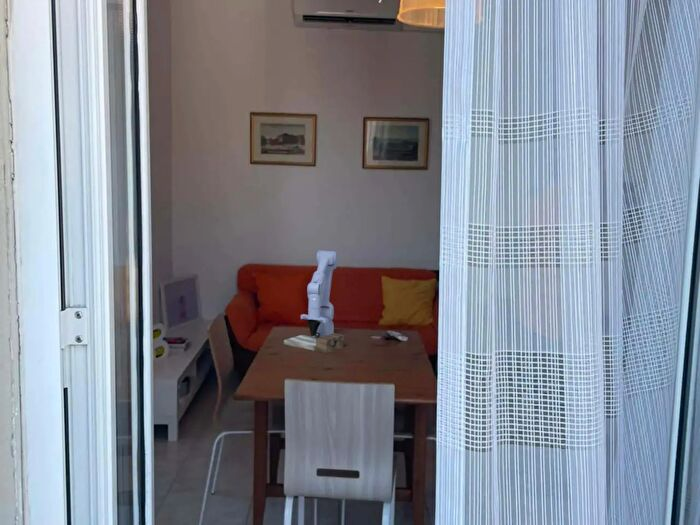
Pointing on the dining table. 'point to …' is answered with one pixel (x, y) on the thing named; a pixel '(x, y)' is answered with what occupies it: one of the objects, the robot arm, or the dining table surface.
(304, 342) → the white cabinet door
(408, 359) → the dining table surface
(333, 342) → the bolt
